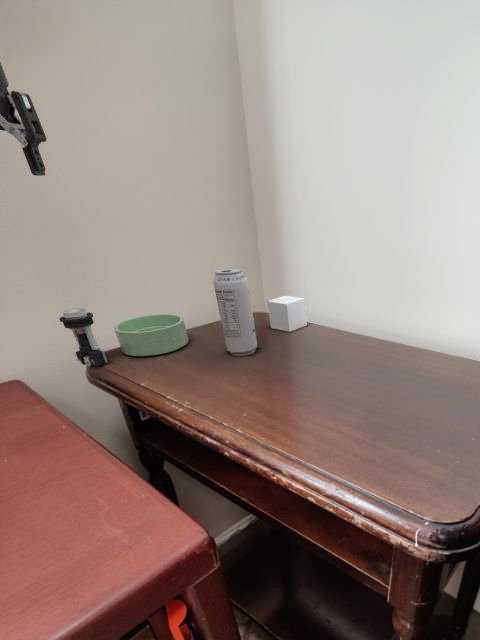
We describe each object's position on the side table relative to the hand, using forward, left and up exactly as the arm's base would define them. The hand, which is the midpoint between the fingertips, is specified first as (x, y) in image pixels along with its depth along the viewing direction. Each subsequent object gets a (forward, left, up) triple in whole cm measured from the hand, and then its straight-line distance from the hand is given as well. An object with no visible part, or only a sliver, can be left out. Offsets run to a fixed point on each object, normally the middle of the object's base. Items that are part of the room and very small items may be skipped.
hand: (17, 176), depth 67 cm
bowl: (+15, +2, -30) cm, 34 cm away
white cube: (+40, +17, -30) cm, 53 cm away
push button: (+7, -8, -30) cm, 32 cm away
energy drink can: (+35, 0, -30) cm, 46 cm away
